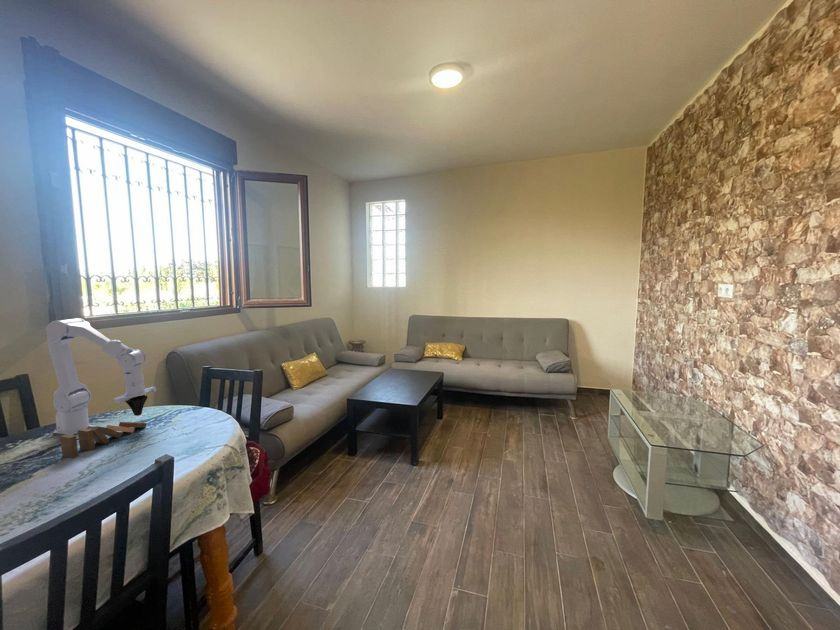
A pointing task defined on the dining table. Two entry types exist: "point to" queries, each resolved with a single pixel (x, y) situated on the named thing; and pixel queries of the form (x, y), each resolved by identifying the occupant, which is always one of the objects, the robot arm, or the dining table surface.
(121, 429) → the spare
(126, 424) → the domino
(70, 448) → the domino
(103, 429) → the domino
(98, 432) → the domino
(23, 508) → the dining table surface
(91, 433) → the domino
